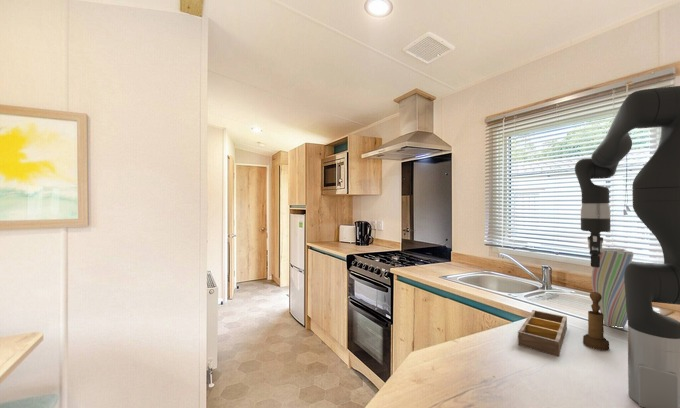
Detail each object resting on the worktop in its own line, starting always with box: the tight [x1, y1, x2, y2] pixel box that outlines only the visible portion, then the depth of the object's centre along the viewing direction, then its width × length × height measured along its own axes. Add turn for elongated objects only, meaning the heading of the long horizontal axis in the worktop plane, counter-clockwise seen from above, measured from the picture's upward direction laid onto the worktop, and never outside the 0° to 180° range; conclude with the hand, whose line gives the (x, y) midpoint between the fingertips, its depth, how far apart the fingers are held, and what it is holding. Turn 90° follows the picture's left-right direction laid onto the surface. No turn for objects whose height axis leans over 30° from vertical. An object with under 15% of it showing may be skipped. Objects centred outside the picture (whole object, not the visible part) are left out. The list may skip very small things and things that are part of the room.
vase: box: [591, 246, 635, 329], centre depth 114 cm, size 14×14×30 cm
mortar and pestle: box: [582, 291, 610, 352], centre depth 98 cm, size 7×6×18 cm
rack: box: [517, 309, 568, 357], centre depth 105 cm, size 28×11×4 cm, turn 138°
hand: (595, 265), depth 98 cm, fingers open, 8 cm apart
